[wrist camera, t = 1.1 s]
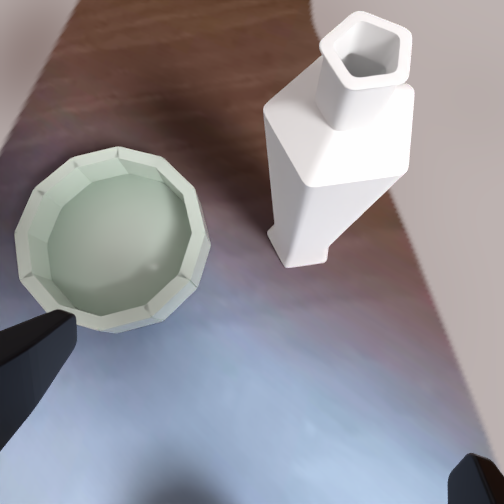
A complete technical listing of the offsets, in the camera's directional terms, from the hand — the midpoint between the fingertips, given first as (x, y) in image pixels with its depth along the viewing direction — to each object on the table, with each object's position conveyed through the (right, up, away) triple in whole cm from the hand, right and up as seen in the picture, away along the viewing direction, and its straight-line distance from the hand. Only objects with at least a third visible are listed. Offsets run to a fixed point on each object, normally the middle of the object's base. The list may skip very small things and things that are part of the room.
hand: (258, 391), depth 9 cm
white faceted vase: (+3, +4, +15) cm, 16 cm away
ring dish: (-8, +3, +15) cm, 17 cm away
